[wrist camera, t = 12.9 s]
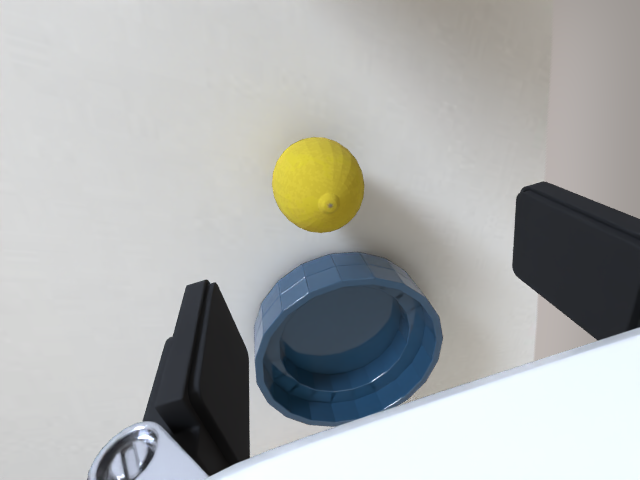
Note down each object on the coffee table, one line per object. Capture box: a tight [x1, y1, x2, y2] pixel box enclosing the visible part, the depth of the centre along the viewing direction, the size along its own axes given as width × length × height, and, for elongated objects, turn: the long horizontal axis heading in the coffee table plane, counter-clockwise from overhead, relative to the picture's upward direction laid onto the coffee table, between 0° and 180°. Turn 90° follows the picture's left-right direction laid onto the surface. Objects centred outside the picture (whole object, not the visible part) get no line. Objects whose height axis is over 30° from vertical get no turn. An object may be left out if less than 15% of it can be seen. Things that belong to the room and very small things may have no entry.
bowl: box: [254, 252, 443, 427], centre depth 30 cm, size 15×15×4 cm
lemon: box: [272, 137, 364, 233], centre depth 22 cm, size 6×6×8 cm
